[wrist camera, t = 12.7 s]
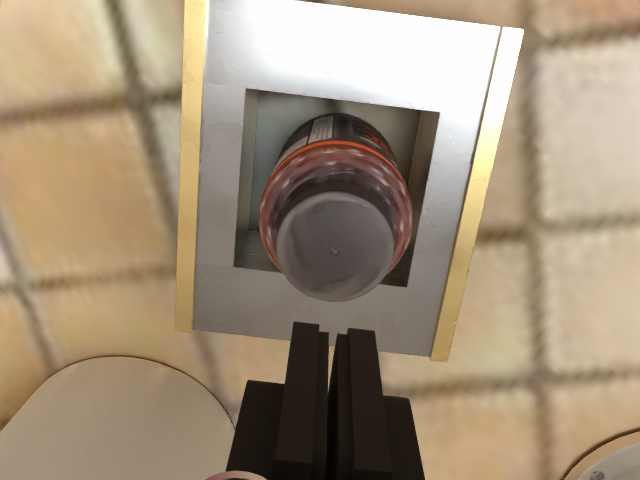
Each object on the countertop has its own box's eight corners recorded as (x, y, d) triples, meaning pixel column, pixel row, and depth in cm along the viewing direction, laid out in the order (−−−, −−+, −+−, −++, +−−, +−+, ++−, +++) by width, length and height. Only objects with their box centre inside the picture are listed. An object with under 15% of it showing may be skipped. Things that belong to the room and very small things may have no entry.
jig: (430, 309, 32) (447, 362, 28) (199, 282, 32) (174, 330, 27) (489, 27, 27) (524, 29, 22) (212, -8, 27) (185, -14, 22)
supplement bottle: (417, 178, 30) (462, 266, 19) (327, 244, 31) (323, 361, 21) (346, 85, 28) (352, 126, 18) (254, 160, 30) (209, 239, 19)
